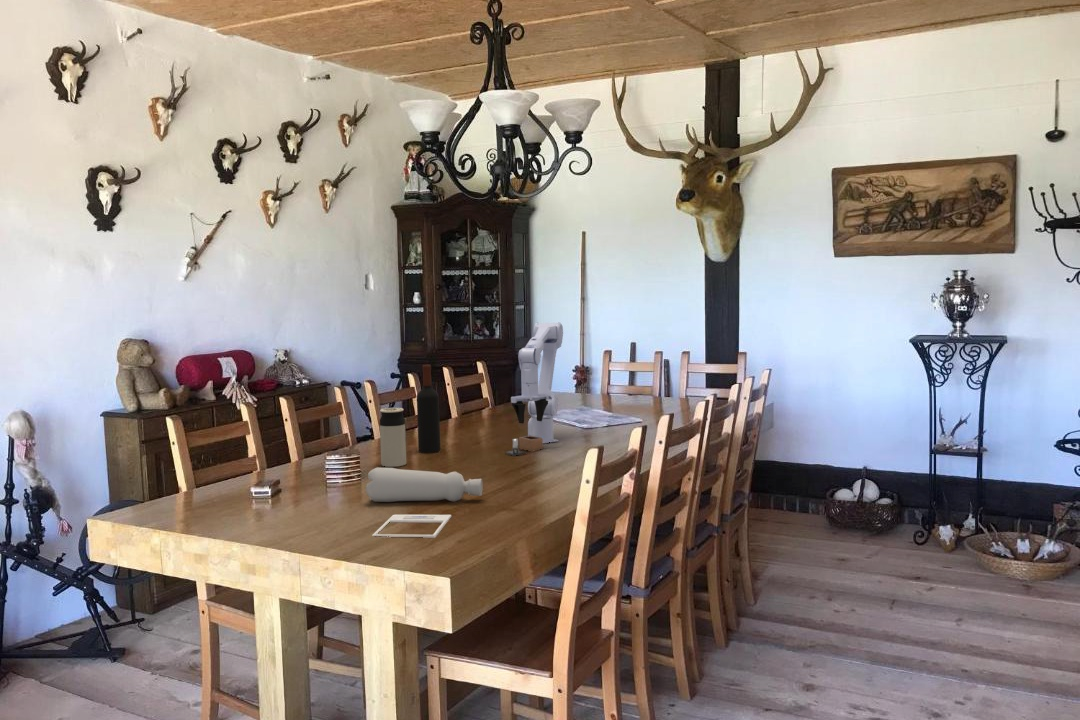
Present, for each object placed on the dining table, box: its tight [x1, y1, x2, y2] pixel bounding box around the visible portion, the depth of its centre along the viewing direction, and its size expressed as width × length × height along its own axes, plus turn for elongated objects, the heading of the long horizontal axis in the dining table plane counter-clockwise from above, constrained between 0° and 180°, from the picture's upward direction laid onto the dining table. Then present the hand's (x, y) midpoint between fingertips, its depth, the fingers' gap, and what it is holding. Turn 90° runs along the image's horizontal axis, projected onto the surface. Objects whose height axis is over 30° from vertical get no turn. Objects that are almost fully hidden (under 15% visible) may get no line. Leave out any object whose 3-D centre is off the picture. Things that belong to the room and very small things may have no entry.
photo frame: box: [371, 514, 452, 539], centre depth 208 cm, size 15×1×18 cm
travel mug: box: [379, 407, 407, 468], centre depth 280 cm, size 8×8×18 cm
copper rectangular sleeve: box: [518, 435, 544, 452], centre depth 302 cm, size 7×5×4 cm
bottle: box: [365, 467, 483, 503], centre depth 233 cm, size 9×9×30 cm
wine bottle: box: [416, 363, 441, 454], centre depth 302 cm, size 8×8×30 cm
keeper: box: [505, 438, 527, 457], centre depth 293 cm, size 5×5×5 cm
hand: (530, 422), depth 301 cm, fingers open, 7 cm apart
